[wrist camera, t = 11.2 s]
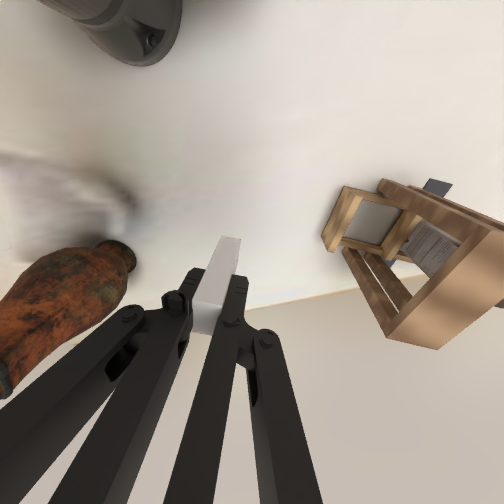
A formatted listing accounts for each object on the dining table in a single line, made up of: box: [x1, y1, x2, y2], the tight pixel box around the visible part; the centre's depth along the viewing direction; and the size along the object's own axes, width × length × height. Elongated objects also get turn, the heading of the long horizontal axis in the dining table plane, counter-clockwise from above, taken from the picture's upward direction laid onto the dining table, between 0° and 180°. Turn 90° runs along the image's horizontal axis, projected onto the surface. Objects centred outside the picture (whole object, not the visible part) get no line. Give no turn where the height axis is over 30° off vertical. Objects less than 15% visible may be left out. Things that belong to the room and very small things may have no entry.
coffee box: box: [400, 218, 504, 308], centre depth 33 cm, size 9×6×16 cm
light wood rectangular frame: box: [321, 186, 422, 264], centre depth 37 cm, size 11×26×6 cm, turn 78°
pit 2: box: [423, 179, 453, 197], centre depth 36 cm, size 4×4×1 cm
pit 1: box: [380, 255, 397, 268], centre depth 44 cm, size 4×4×1 cm
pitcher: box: [0, 240, 136, 399], centre depth 39 cm, size 17×21×30 cm
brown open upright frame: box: [342, 179, 504, 350], centre depth 31 cm, size 16×7×21 cm, turn 168°
